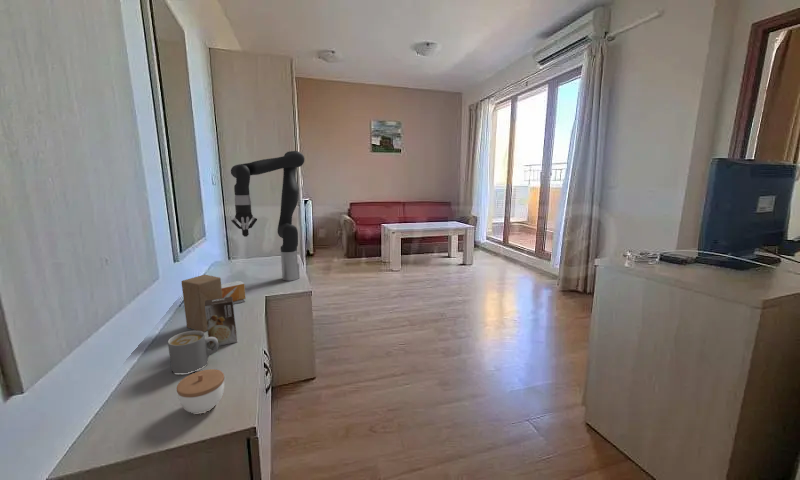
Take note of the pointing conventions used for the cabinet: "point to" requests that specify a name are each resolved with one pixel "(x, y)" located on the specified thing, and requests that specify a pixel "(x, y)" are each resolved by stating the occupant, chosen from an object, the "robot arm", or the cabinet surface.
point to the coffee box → (221, 320)
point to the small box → (234, 290)
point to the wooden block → (199, 299)
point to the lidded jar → (201, 390)
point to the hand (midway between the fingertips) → (245, 236)
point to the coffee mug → (190, 351)
